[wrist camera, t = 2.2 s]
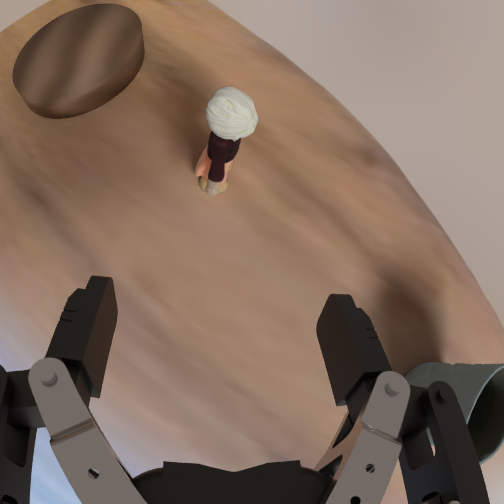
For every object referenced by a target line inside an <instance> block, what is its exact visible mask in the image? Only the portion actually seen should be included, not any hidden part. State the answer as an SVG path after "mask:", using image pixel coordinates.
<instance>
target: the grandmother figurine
mask: <svg viewBox="0 0 504 504" xmlns="http://www.w3.org/2000/svg"><path fill="white" fill-rule="evenodd" d="M206 118H207V124H208V126H209V128H210V129H211V130H212V131H211V134H210V138H209V142H208V144H207V146H206V148H205V149H204V151H203V153H202V155H201V156H200V158H199V160H198V162H197V165H196V168H195V175H196V176H201V175H202V176H201V177H200V181H199V186H200V188H201V189H202V190H203V191H205V192H206V193H207V194H208V195H210V196H214V195H216V194H217V193H222V192H225V191H226V190H227V188H228V180H227V179H226V178H227V172H228V171H229V170H231V168H232V166H233V159H234V157H235V156H236V154H237V152H238V149H239V144H240V140H241V138H242V137H243V138H244V137H247V136H248V135H250V134H251V133H253V132H254V130H255V126H256V124H257V121H258V116H257V113H256V110H255V107H254V104H253V101H252V100H251V98H250V97H249V96H248V95H247V94H245V93H244V92H242V91H240V90H238V89H236V88H234V87H223V88H221V89H218V90H217V91H216V92H215V94H214V95H213V96H212V98H211V100H210V101H209V102H208V106H207V108H206Z"/></svg>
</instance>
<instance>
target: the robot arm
mask: <svg viewBox="0 0 504 504" xmlns="http://www.w3.org/2000/svg"><path fill="white" fill-rule="evenodd" d="M117 315H118V309H117V302H116V297H115V291H114V284H113V279H112V278H111V277H102V276H91V277H90V279H89V282H88V284H87V286H86V289H80V288H78V289H77V290H76V291H75V292H74V293H73V294H72V295H71V296H70V297H69V298H68V300H67V302H66V305H65V307H64V311H63V312H62V314H61V317H60V321H59V322H58V324H57V327H56V329H55V332H54V334H53V337H52V340H51V343H50V345H49V348H48V351H47V354H46V356H45V358H43V359H41V360H39V361H37V362H36V363H35V364H34V365H33V366H32V367H31V369H29V370H23V371H12V372H6V371H5V369H4V368H3V367H2V366H1V365H0V504H29V502H30V484H31V472H32V462H33V454H34V446H35V439H36V432H37V428H41V427H46V428H47V430H48V432H49V434H50V437H51V440H50V445H51V448H52V450H53V452H54V454H55V456H56V458H57V460H58V462H59V464H60V466H61V468H62V470H63V472H64V474H65V475H66V477H67V479H68V481H69V483H70V484H71V486H72V488H73V489H74V491H75V493H76V494H77V496H78V498H79V499H80V501H81V503H82V504H380V503H381V501H382V498H383V496H384V494H385V491H386V489H387V486H388V484H389V481H390V479H391V476H392V473H393V471H394V468H395V465H396V462H397V460H398V458H399V462H400V467H401V471H402V475H403V480H404V485H405V489H406V494H407V499H408V504H490V502H489V498H488V494H487V490H486V485H485V482H484V478H483V474H482V471H481V467H480V464H479V460H478V457H477V454H476V450H475V447H474V444H473V441H472V438H471V435H470V432H469V429H468V426H467V424H466V421H465V418H464V415H463V412H462V410H461V407H460V404H459V402H458V399H457V397H456V394H455V392H454V390H453V389H452V387H451V386H450V385H449V384H447V383H446V382H443V381H434V382H433V383H431V384H430V385H429V386H428V387H427V388H424V387H418V386H413V385H409V384H408V382H407V380H406V379H405V378H404V377H403V376H402V375H400V374H399V373H396V372H393V371H392V369H391V367H390V364H389V362H388V359H387V357H386V355H385V352H384V350H383V347H382V345H381V343H380V340H379V339H378V336H377V333H376V331H374V326H373V324H372V322H371V320H370V318H369V316H368V315H367V314H366V313H365V312H364V311H363V310H362V309H361V308H357V307H356V305H355V303H354V301H353V298H352V296H351V295H349V294H330V295H329V297H328V299H327V301H326V304H325V306H324V308H323V310H322V312H321V315H320V317H319V319H318V322H317V328H316V331H317V337H318V341H319V344H320V348H321V351H322V355H323V358H324V362H325V365H326V369H327V373H328V376H329V380H330V384H331V387H332V391H333V395H334V399H335V402H336V406H342V405H347V407H348V411H347V413H346V414H345V416H344V418H343V420H342V423H341V425H340V427H339V429H338V431H337V433H336V435H335V437H334V439H333V440H332V442H331V444H330V446H329V448H328V450H327V452H326V453H325V454H324V456H323V457H322V458H321V459H320V461H319V462H318V463H317V465H316V466H315V468H314V470H312V469H309V468H305V467H301V465H300V460H296V461H286V462H273V463H266V464H262V465H259V466H256V467H252V468H249V469H245V470H241V471H237V472H230V471H225V470H221V469H217V468H213V467H209V466H205V465H201V464H195V463H177V462H165V461H163V468H156V469H153V470H149V471H146V472H144V473H142V474H140V475H138V476H136V477H135V478H132V476H131V475H130V473H129V472H128V471H127V469H126V468H125V466H124V465H123V463H122V462H121V460H120V459H119V457H118V456H117V455H116V453H115V452H114V450H113V449H112V447H111V445H110V444H109V442H108V441H107V439H106V437H105V436H104V434H103V432H102V431H101V429H100V427H99V425H98V424H97V422H96V420H95V418H94V417H93V415H92V413H91V411H90V409H89V408H88V407H89V402H90V397H95V398H100V394H101V389H102V384H103V379H104V374H105V369H106V365H107V360H108V356H109V351H110V347H111V343H112V339H113V335H114V331H115V327H116V323H117ZM427 429H429V430H430V433H431V436H432V439H433V443H434V446H435V456H434V455H433V451H432V447H431V444H430V440H429V437H428V434H427Z"/></svg>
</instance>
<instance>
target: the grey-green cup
mask: <svg viewBox="0 0 504 504" xmlns="http://www.w3.org/2000/svg"><path fill="white" fill-rule="evenodd" d="M405 379H406V380H407V382H408V384H409V385H413V386H418V387H424V388H427V387H428V386H429V385H430V384H431V383H433V382H434V381H443V382H446V383H447V384H449V385H450V386H451V387H452V389H453V390H454V392H455V394H456V397H457V399H458V402H459V404H460V407H461V410H462V412H463V415H464V418H465V421H466V424H467V426H468V429H469V432H470V435H471V438H472V441H473V444H474V447H475V450H476V454H477V457H478V460H479V464H480V465H481V464H483V463H484V462H486V461H487V460H488V459H490V458H491V457H492V456H493V455H494V454H495V453H496V452H497V450H499V448H500V447H501V446H502V444H503V443H504V364H484V365H483V364H474V365H471V364H464V363H463V364H459V363H456V364H454V365H451V364H448V363H437V362H425V363H422V364H419V365H418V366H416V367H414V368H413V369H412V370H411V371H410V372H409V373H408V374H407V375H406V376H405ZM427 434H428V437H429V440H430V444H432V445H434V443H433V439H432V436H431V433H430V430H429V429H427Z"/></svg>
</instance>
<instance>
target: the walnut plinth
mask: <svg viewBox="0 0 504 504" xmlns="http://www.w3.org/2000/svg"><path fill="white" fill-rule="evenodd" d="M144 52H145V51H144V42H143V34H142V24H141V21H140V18H139V17H138V15H137V14H136V13H135V12H134V11H132V10H131V9H129V8H127V7H124V6H121V5H116V4H95V5H89V6H85V7H81V8H78V9H75V10H72V11H70V12H67V13H65V14H63V15H61V16H59V17H57V18H56V19H54V20H52V21H51V22H49V23H48V24H46V25H45V26H44V27H42V28H41V29H40V30H39V31H38V32H37V33H36V34H34V35H33V36H32V38H31V39H30V40H29V41H28V42H27V43H26V44H25V46H24V47H23V49H22V50H21V52H20V53H19V55H18V57H17V59H16V62H15V65H14V69H13V83H14V85H15V87H16V89H17V90H18V92H19V93H20V95H21V96H22V98H23V99H24V100H25V102H26V103H27V105H28V106H29V107H30V109H31V110H32V111H33V112H35V113H36V114H38V115H40V116H43V117H46V118H52V119H62V118H69V117H74V116H78V115H81V114H84V113H87V112H89V111H91V110H94V109H96V108H98V107H100V106H102V105H103V104H105V103H107V102H108V101H110V100H111V99H113V98H114V97H115V96H117V95H118V94H119V93H120V92H121V91H123V90H124V89H125V88H126V87H127V86H128V85H129V84H130V83H131V81H132V80H133V79H134V78H135V76H136V75H137V73H138V71H139V70H140V68H141V65H142V63H143V59H144Z"/></svg>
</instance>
